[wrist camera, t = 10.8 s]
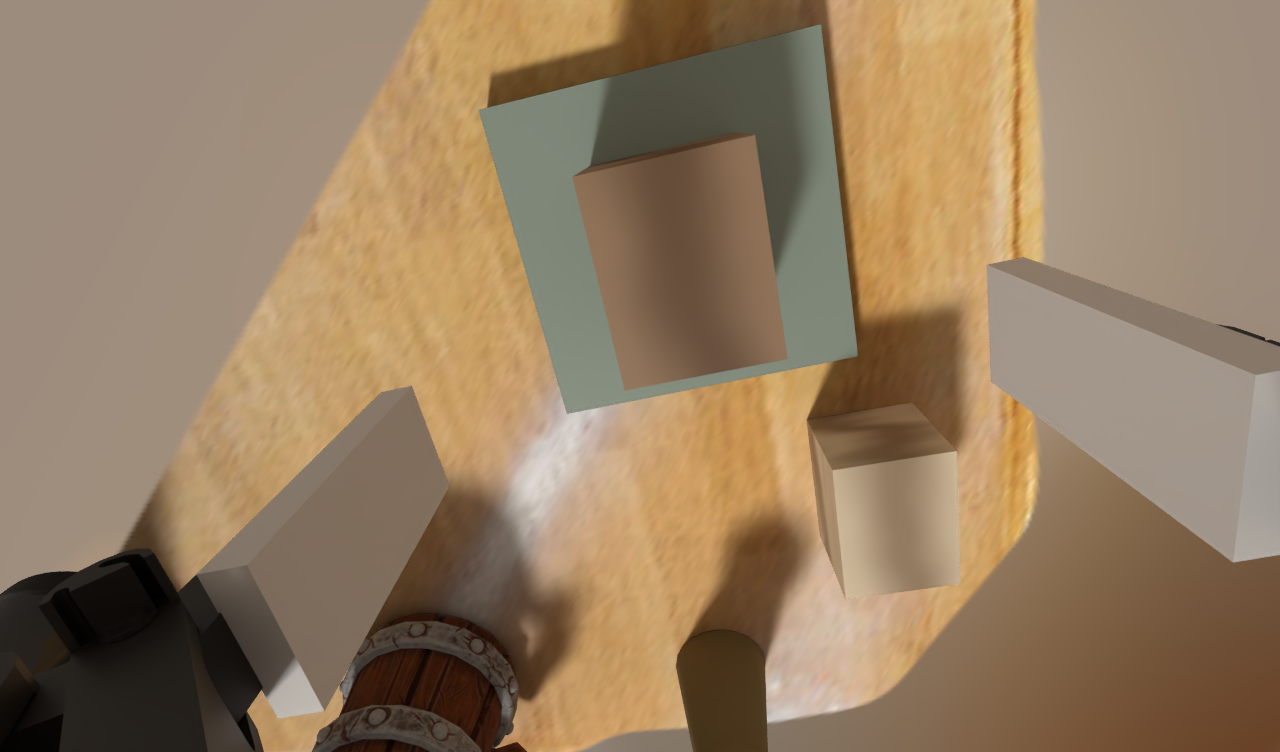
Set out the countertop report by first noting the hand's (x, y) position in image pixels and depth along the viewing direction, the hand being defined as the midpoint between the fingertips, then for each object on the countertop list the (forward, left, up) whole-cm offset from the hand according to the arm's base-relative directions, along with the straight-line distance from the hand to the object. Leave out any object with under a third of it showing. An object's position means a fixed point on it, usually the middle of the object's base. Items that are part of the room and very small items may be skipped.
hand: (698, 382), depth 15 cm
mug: (-21, -27, -21) cm, 40 cm away
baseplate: (0, 0, -20) cm, 20 cm away
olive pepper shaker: (-3, -29, -21) cm, 36 cm away
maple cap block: (+8, -16, -21) cm, 27 cm away
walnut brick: (0, 0, -19) cm, 19 cm away
